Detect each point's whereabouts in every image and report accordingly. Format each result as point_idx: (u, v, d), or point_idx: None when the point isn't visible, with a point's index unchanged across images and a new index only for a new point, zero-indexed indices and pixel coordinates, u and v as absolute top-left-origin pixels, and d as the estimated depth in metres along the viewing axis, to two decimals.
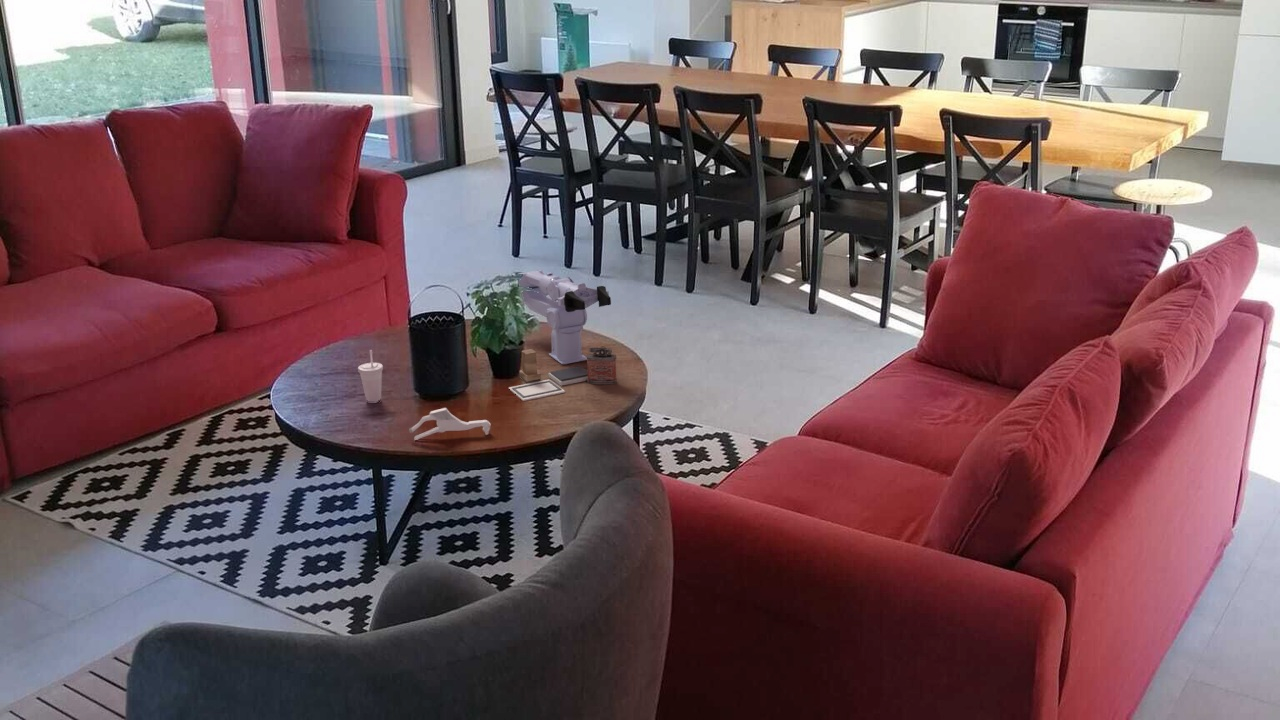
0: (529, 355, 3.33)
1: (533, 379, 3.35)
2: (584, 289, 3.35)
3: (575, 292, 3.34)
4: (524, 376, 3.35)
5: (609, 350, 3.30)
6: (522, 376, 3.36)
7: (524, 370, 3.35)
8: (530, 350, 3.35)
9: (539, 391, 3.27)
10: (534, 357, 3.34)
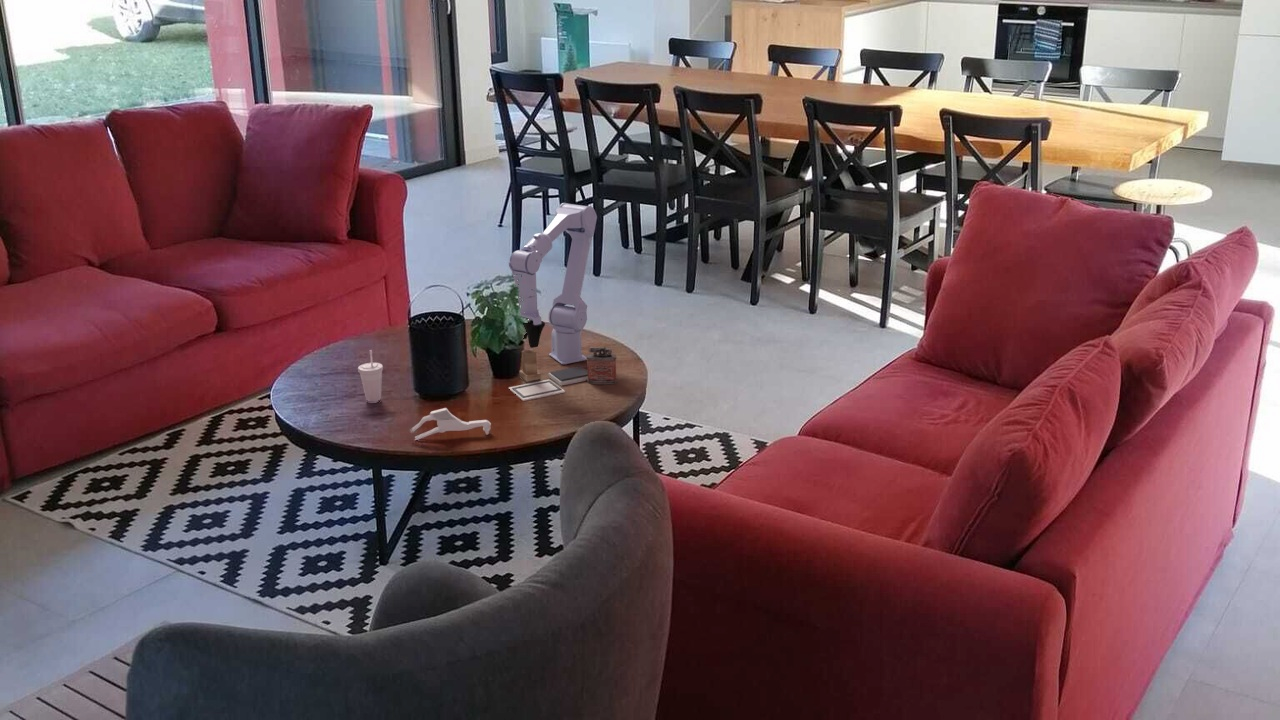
0: (529, 355, 3.33)
1: (533, 379, 3.35)
2: None
3: None
4: (524, 376, 3.35)
5: (609, 350, 3.30)
6: (522, 376, 3.36)
7: (524, 370, 3.35)
8: (530, 350, 3.35)
9: (539, 391, 3.27)
10: (534, 357, 3.34)
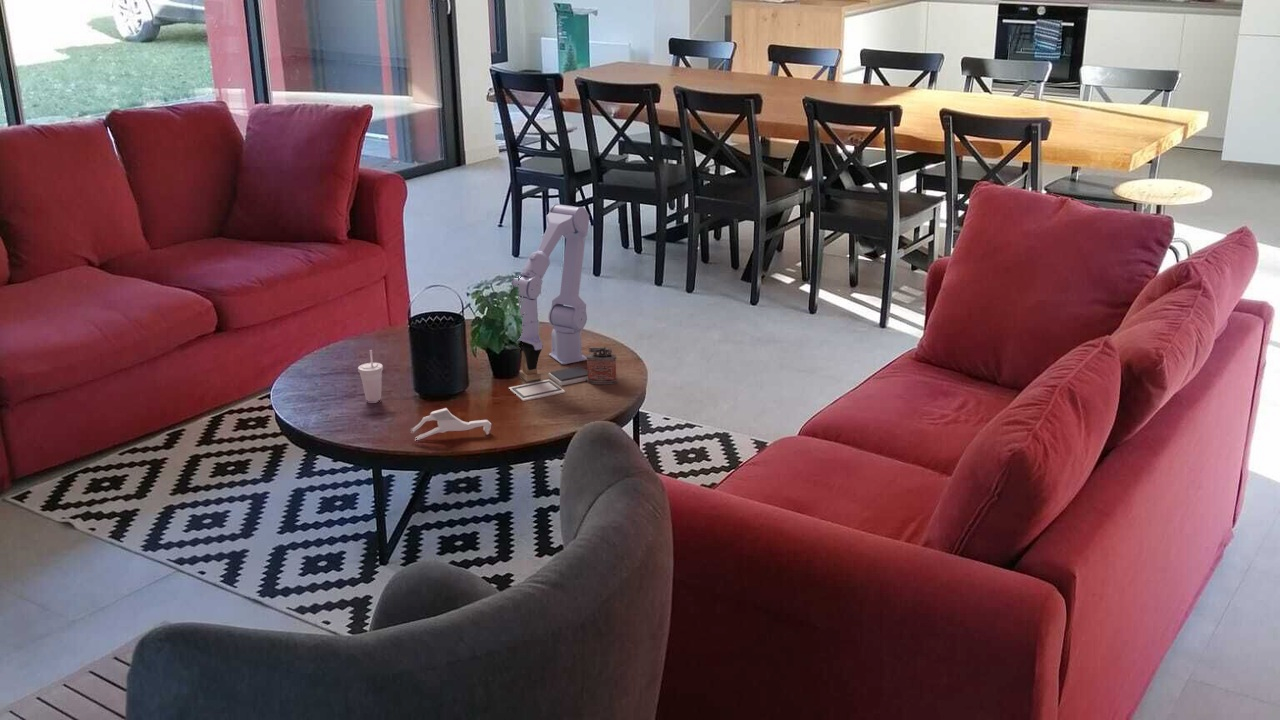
0: None
1: (533, 379, 3.35)
2: None
3: None
4: (524, 376, 3.35)
5: (609, 350, 3.30)
6: (522, 376, 3.36)
7: (524, 370, 3.35)
8: None
9: (539, 391, 3.27)
10: None
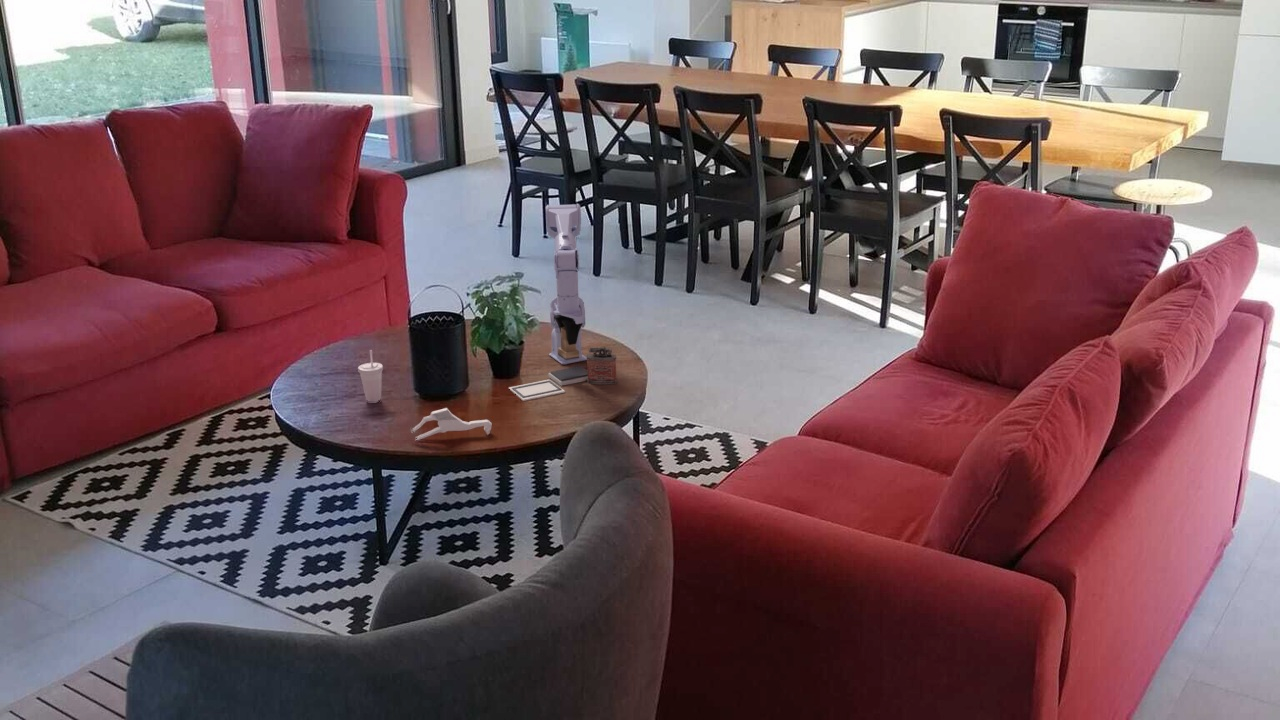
0: None
1: (572, 356, 3.32)
2: None
3: None
4: (563, 353, 3.32)
5: (609, 350, 3.30)
6: (560, 353, 3.34)
7: (563, 347, 3.33)
8: None
9: (539, 391, 3.27)
10: None
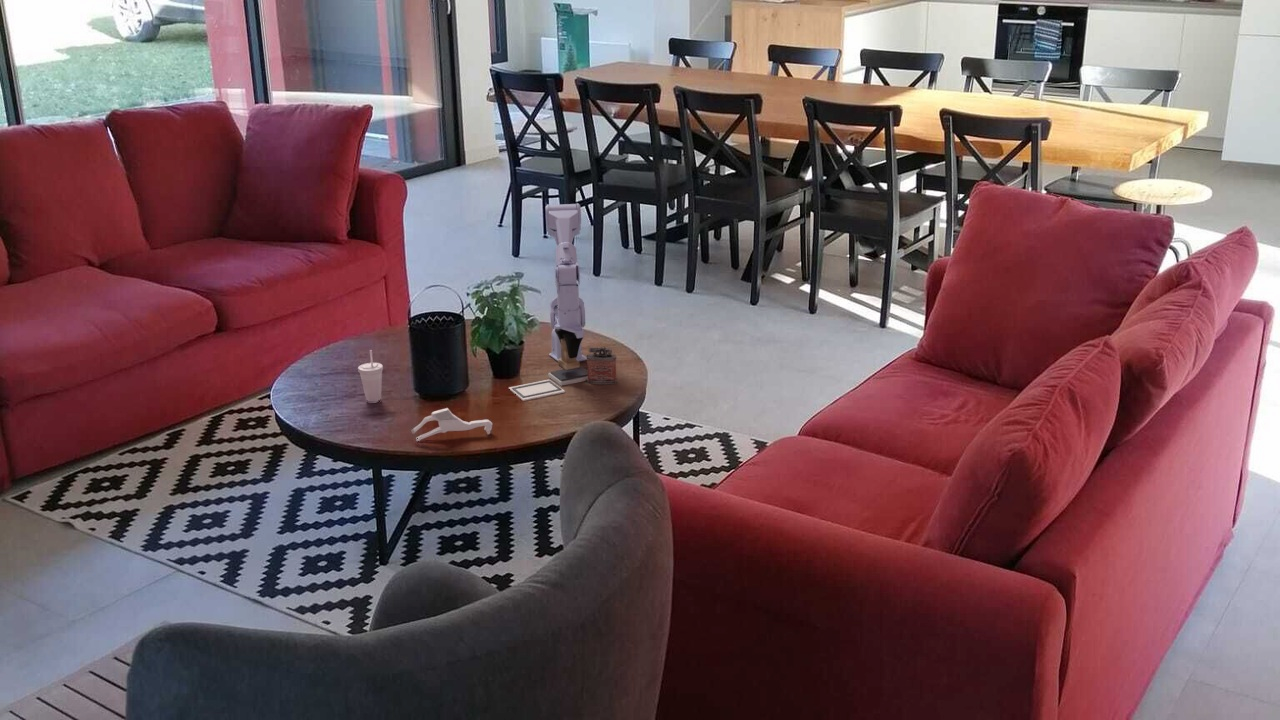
0: None
1: (572, 367, 3.34)
2: None
3: None
4: (563, 364, 3.34)
5: (609, 350, 3.30)
6: (561, 364, 3.35)
7: (563, 358, 3.34)
8: None
9: (539, 391, 3.27)
10: None
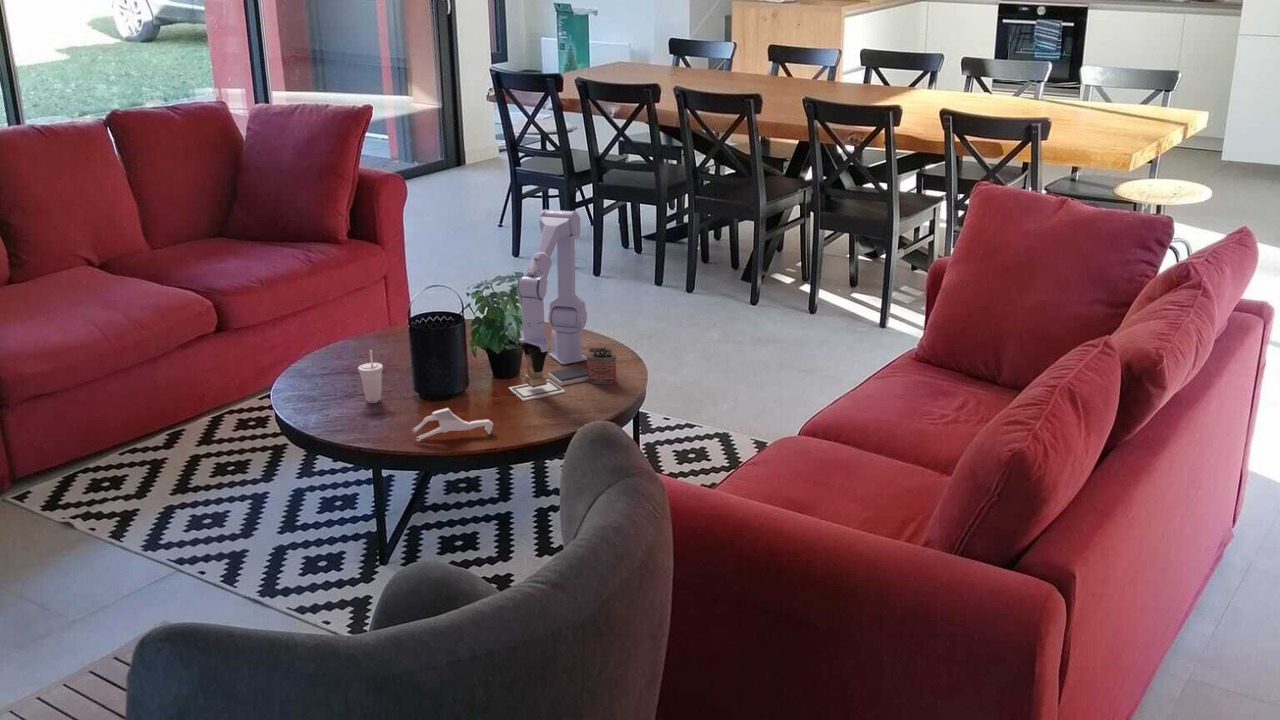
0: None
1: (539, 383, 3.25)
2: None
3: None
4: (529, 380, 3.26)
5: (609, 350, 3.30)
6: (527, 380, 3.27)
7: (529, 374, 3.26)
8: None
9: (539, 391, 3.27)
10: None
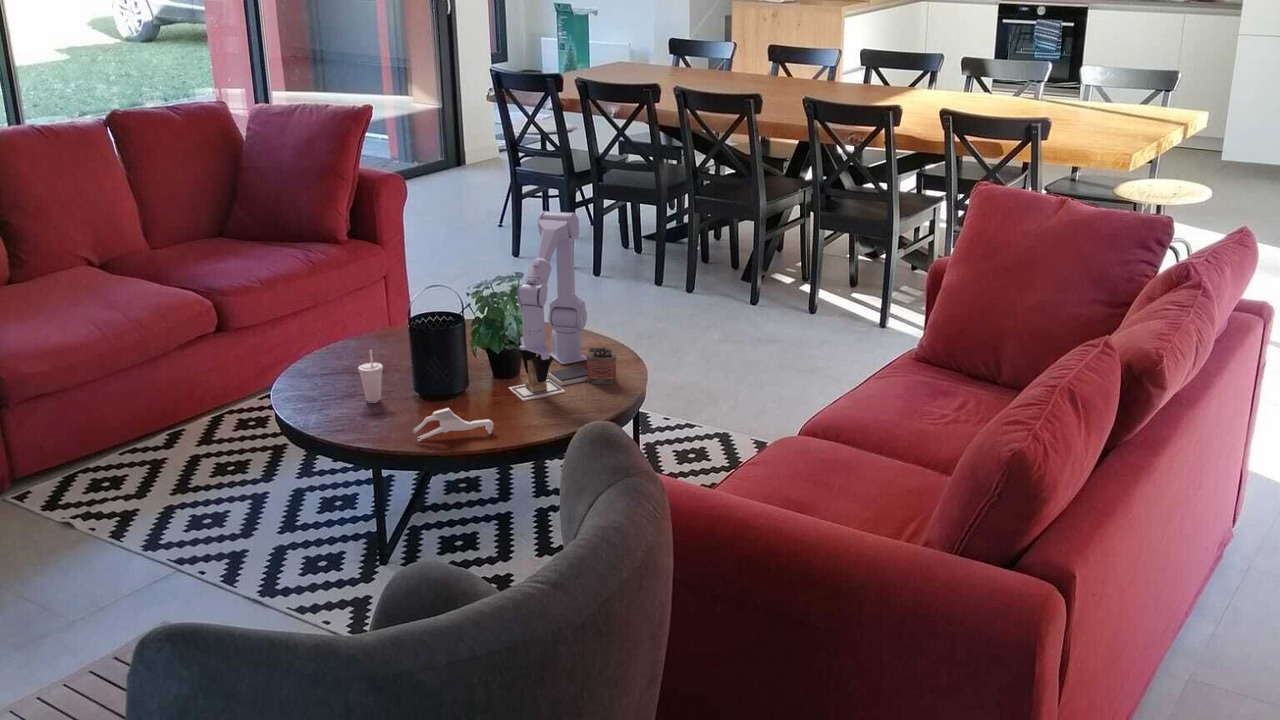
0: None
1: (539, 389, 3.26)
2: None
3: None
4: (530, 386, 3.26)
5: (609, 350, 3.30)
6: (528, 386, 3.28)
7: (530, 380, 3.27)
8: None
9: None
10: None
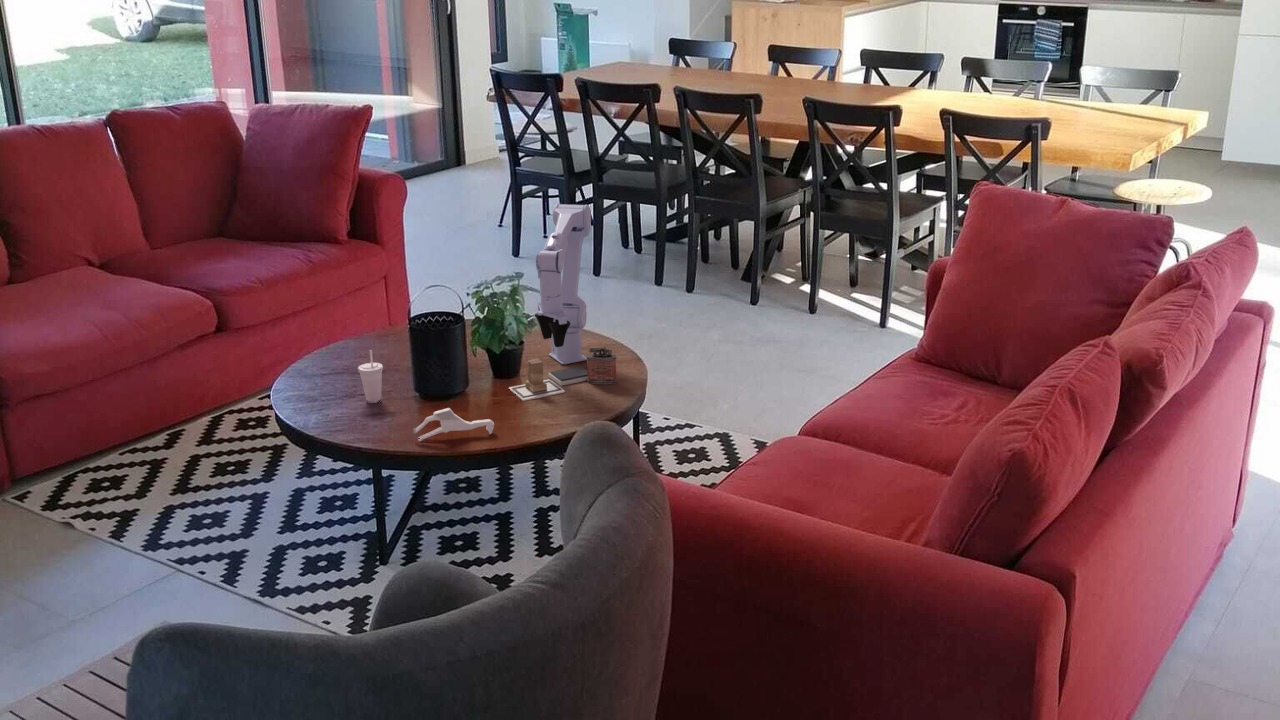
0: (535, 365, 3.24)
1: (539, 389, 3.26)
2: None
3: None
4: (530, 386, 3.26)
5: (609, 350, 3.30)
6: (528, 386, 3.28)
7: (530, 380, 3.27)
8: (536, 359, 3.26)
9: None
10: (540, 367, 3.25)
